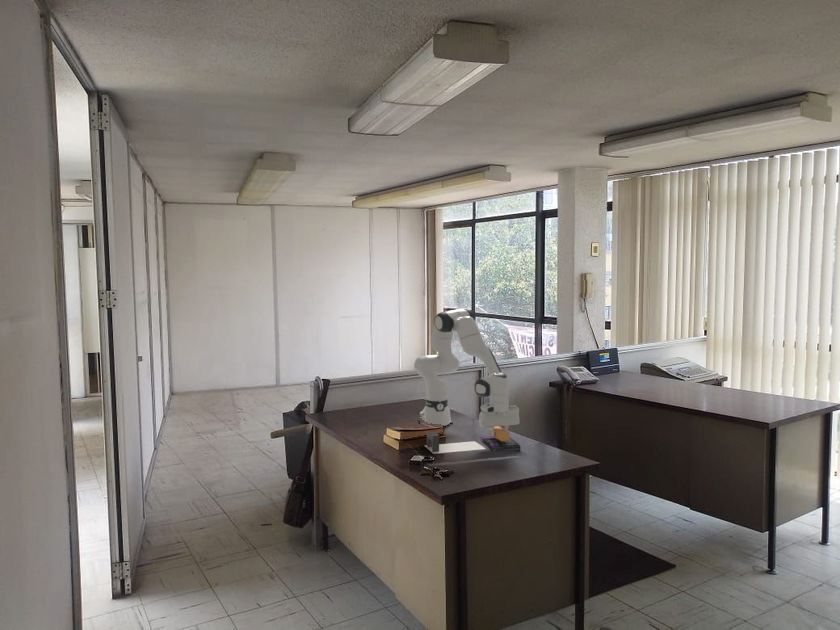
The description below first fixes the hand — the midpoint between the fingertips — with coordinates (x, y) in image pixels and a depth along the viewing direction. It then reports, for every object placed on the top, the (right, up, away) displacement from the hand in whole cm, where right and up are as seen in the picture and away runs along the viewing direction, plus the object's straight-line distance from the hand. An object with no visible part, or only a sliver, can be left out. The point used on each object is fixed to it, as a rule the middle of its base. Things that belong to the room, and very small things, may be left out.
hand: (499, 434), depth 295 cm
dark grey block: (-32, -5, -7) cm, 33 cm away
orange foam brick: (0, -1, 0) cm, 1 cm away
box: (0, -7, +1) cm, 7 cm away
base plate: (-22, -6, -4) cm, 23 cm away
